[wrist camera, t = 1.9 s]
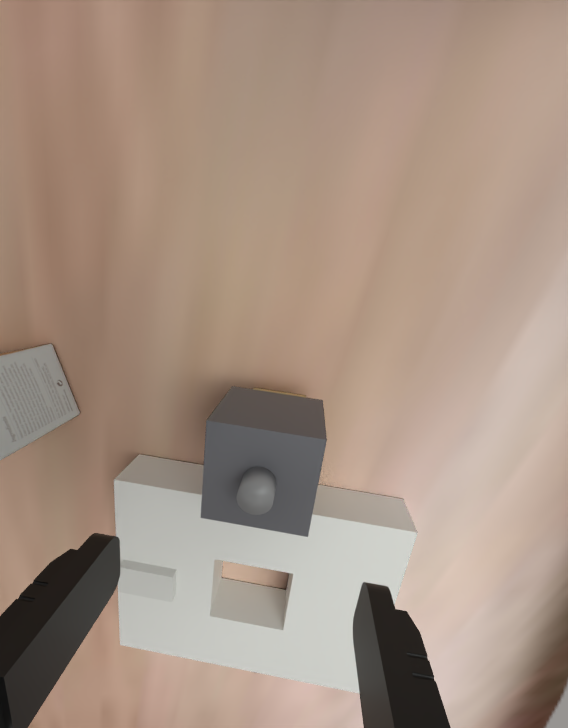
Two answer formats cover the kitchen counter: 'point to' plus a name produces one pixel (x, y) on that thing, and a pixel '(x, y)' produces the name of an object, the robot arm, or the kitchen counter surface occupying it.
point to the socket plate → (246, 600)
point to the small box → (32, 397)
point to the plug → (263, 460)
